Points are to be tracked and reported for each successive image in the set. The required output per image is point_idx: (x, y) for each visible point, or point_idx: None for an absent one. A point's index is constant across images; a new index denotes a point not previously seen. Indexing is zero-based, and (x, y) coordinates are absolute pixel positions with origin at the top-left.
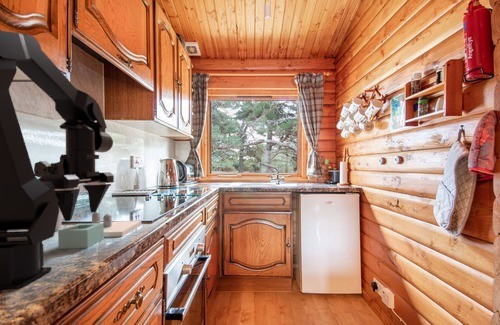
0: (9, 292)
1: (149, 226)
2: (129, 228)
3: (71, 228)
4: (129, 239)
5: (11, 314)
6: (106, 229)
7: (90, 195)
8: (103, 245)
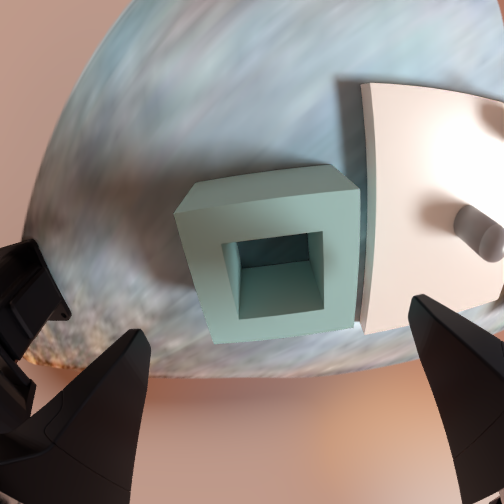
0: None
1: None
2: None
3: (243, 239)
4: (319, 356)
5: None
6: (417, 252)
7: (489, 390)
8: None
